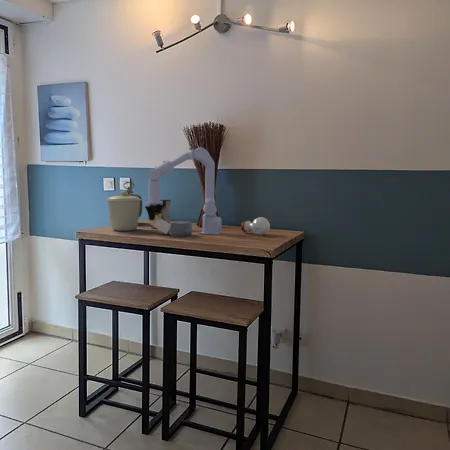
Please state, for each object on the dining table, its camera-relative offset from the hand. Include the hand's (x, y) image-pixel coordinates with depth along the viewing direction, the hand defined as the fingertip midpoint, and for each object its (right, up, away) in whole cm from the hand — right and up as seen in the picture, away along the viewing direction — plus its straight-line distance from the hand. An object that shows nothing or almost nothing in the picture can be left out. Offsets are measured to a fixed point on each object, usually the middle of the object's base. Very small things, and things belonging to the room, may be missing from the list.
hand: (154, 219), depth 216 cm
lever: (+3, -4, 0) cm, 5 cm away
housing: (+14, -8, -4) cm, 17 cm away
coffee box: (0, -5, +22) cm, 22 cm away
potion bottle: (+52, -8, +4) cm, 52 cm away
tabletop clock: (-21, -2, +39) cm, 44 cm away
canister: (-18, -6, +12) cm, 22 cm away
